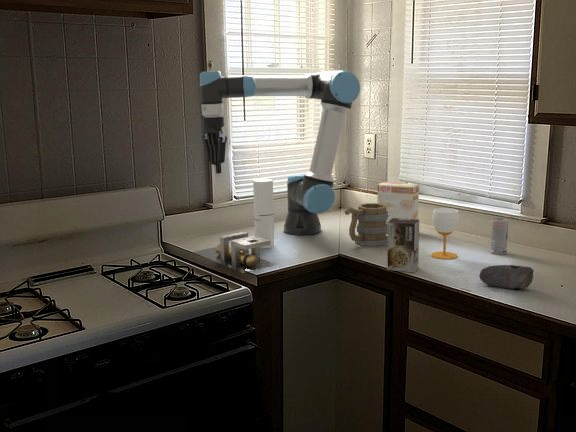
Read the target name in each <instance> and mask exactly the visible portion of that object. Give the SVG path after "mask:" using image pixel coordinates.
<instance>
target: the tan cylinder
mask: <svg viewBox="0 0 576 432" xmlns="http://www.w3.org/2000/svg"><path fill="white" fill-rule="evenodd" d="M215 247H216V253H217V254H219V255H221V254H220V243H218V244H217V245H216V246H215ZM240 257H241V263H242V264H244V265H246V266H249V267H254V266H255V265H256V263H257V257H256V256H254V255H252V254H251V253H250V252H249V253H246V252H244V251H241V250H240ZM229 259H232V257H231V245H229Z"/></svg>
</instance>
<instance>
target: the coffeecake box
mask: <svg viewBox="0 0 576 432" xmlns="http://www.w3.org/2000/svg"><path fill="white" fill-rule="evenodd" d="M376 195H377V197H376V198H377V202H376V203H378V204H384V205H386V211H388V219H387V220H386V224H387V222H389V221H390V220H391V219H392V218H401V219H415V220H419V205H420V204H419V197H420V184H418V183H417V184H416V183H403V182H402V183H401V182H391V181H383V182H380V183H378V184H377V194H376ZM386 234H388V230H387V233H386Z"/></svg>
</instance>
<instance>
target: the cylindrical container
mask: <svg viewBox="0 0 576 432" xmlns="http://www.w3.org/2000/svg"><path fill="white" fill-rule="evenodd" d="M252 183H253V184H252V185H253V213H254V214H253V215H254V216H253V218H254V220H253V221H254V222H253V223H254V236H259V237H262V238H265V239H268V240H270V245H266V246H261V247H260V249H269V248H273V247H275V220H274V219H275V218H274V217H275V216H274V215H275V214H274V213H275V211H274V207H275V206H274V179H271V178H256V179H253V180H252Z"/></svg>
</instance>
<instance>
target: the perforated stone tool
mask: <svg viewBox="0 0 576 432" xmlns="http://www.w3.org/2000/svg"><path fill="white" fill-rule="evenodd" d="M534 271H535V270H534V269H533V267H530V266H522V265H513V264H497V265H496V264H495V265H490V266H487V267H484V268H482V269H481V270H480V272H479V275H478V276H479V279H480V281H482V283H484V284H486V285H488V286H491V287H497V288H501V289H507V290H512V289H518V290H525V289H527V288H529V286H530V285H531V284H532V282H533V279H534Z"/></svg>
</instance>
